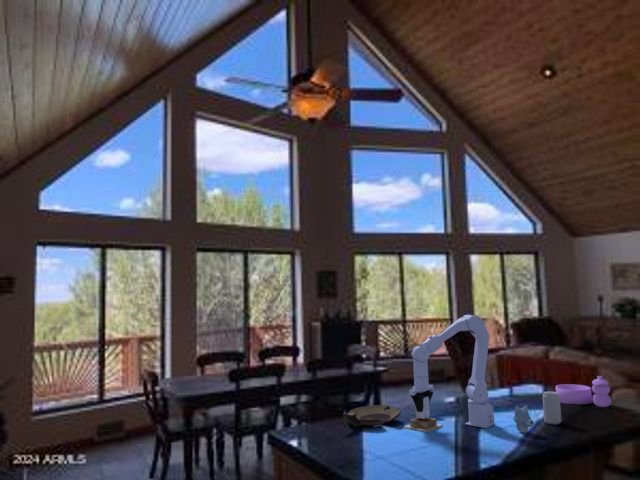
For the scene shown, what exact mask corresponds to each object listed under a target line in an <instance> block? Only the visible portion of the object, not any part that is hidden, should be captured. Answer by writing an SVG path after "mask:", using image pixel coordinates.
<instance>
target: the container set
mask: <svg viewBox="0 0 640 480" xmlns="http://www.w3.org/2000/svg"><path fill="white" fill-rule="evenodd" d="M591 383H592V386H591V387H590V386H588V385H585V384H584V385H583V384H573V383H572V384H569V383H568V384H557V385H555V392H557V393H558V395H559V396H560V403H562V404H569V405H588V404H591V403H593V404H594V405H595V406H596V407H598V408H599V407H600V408H607V407H609V406H610V405H611V404H612V399H611V396H610V395H609V393H610V392H611V388H610V386H609V384H610V383H609V381H608V380H607V379H604V378H603V376H602V375H597V378H595V379H593V380H592V381H591ZM592 393H594V394H593V396H592Z"/></svg>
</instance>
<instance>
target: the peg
mask: <svg viewBox="0 0 640 480" xmlns="http://www.w3.org/2000/svg"><path fill="white" fill-rule="evenodd" d="M414 407H415V408H414V409H415V418H423V419H425V418H431V417H430V404H429V397H428V396H424V399H423V409H422V412H417V410H416V406H415V405H414Z"/></svg>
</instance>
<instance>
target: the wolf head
mask: <svg viewBox="0 0 640 480" xmlns="http://www.w3.org/2000/svg"><path fill="white" fill-rule="evenodd" d="M513 420H514V423H515V427H516V430H518V432H520V433H523V434H527V433H528V431H529V428H531V427H533V426H534V425H535V422H534V421H533V419H532V418H531V416H530V413H529V409H528V405H527V404H526V405H524V406H523V407H520V406H515V408H514V416H513Z"/></svg>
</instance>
